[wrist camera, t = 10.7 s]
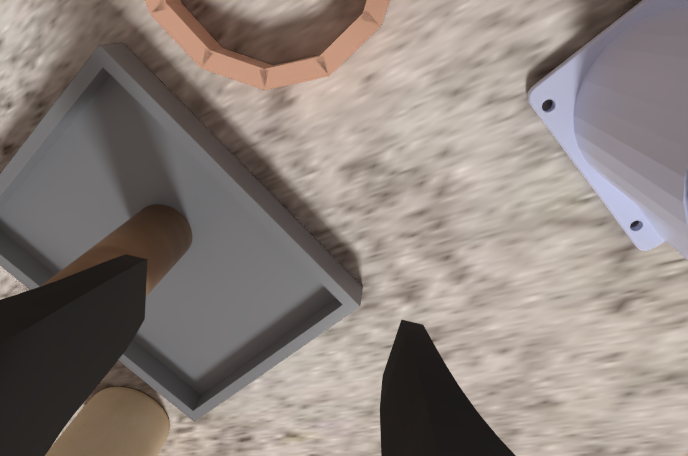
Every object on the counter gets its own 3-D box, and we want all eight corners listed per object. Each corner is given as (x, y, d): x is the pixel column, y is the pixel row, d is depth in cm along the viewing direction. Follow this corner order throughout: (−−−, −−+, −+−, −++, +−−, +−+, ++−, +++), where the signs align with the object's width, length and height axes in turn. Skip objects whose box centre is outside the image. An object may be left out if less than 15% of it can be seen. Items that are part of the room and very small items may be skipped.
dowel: (195, 212, 23) (82, 321, 15) (189, 264, 24) (83, 390, 16) (136, 197, 23) (-10, 298, 15) (134, 249, 24) (-1, 369, 16)
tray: (362, 287, 24) (360, 306, 23) (206, 398, 29) (194, 421, 27) (123, 42, 20) (99, 45, 19) (-15, 216, 25) (-44, 230, 23)
